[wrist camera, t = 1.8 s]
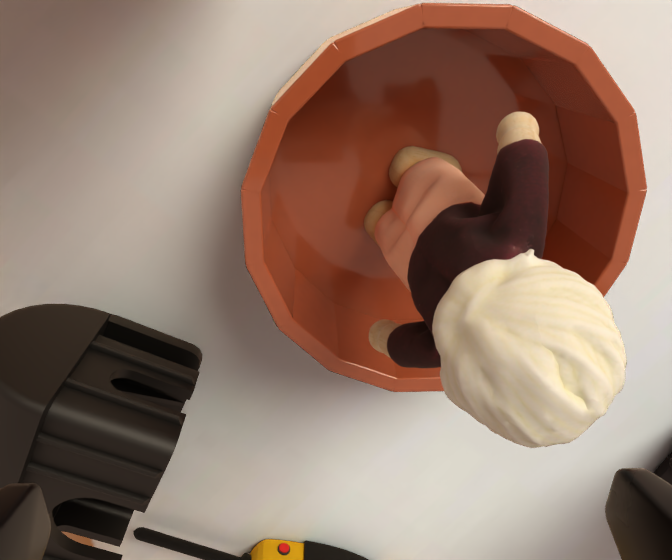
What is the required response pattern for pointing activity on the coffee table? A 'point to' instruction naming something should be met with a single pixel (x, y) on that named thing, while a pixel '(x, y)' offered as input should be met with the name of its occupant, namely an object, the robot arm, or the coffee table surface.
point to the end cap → (89, 417)
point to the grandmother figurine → (495, 294)
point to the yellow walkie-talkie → (266, 556)
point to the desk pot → (434, 134)
